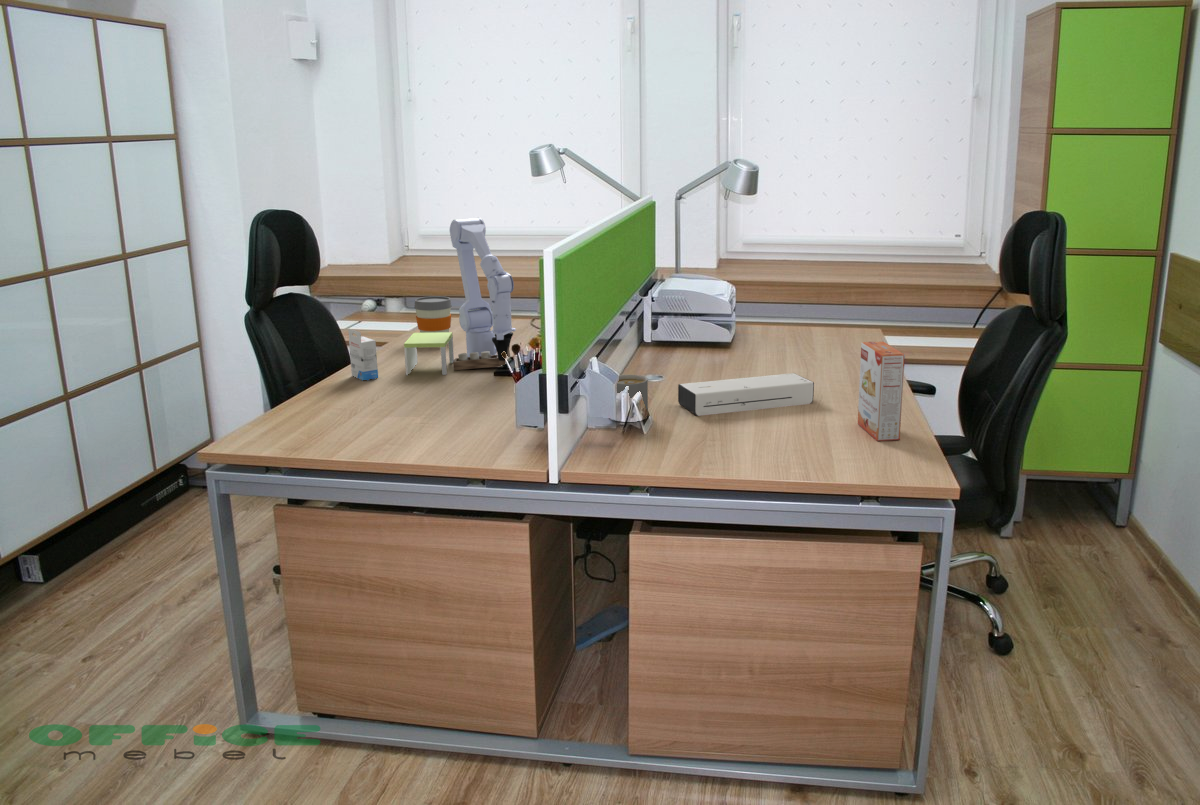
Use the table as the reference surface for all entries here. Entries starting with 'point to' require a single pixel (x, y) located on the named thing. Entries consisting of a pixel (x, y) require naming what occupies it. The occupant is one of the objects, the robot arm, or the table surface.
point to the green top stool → (428, 341)
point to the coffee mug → (634, 386)
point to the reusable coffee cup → (433, 314)
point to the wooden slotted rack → (477, 360)
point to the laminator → (745, 394)
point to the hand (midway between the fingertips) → (503, 358)
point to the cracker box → (881, 390)
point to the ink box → (362, 356)
